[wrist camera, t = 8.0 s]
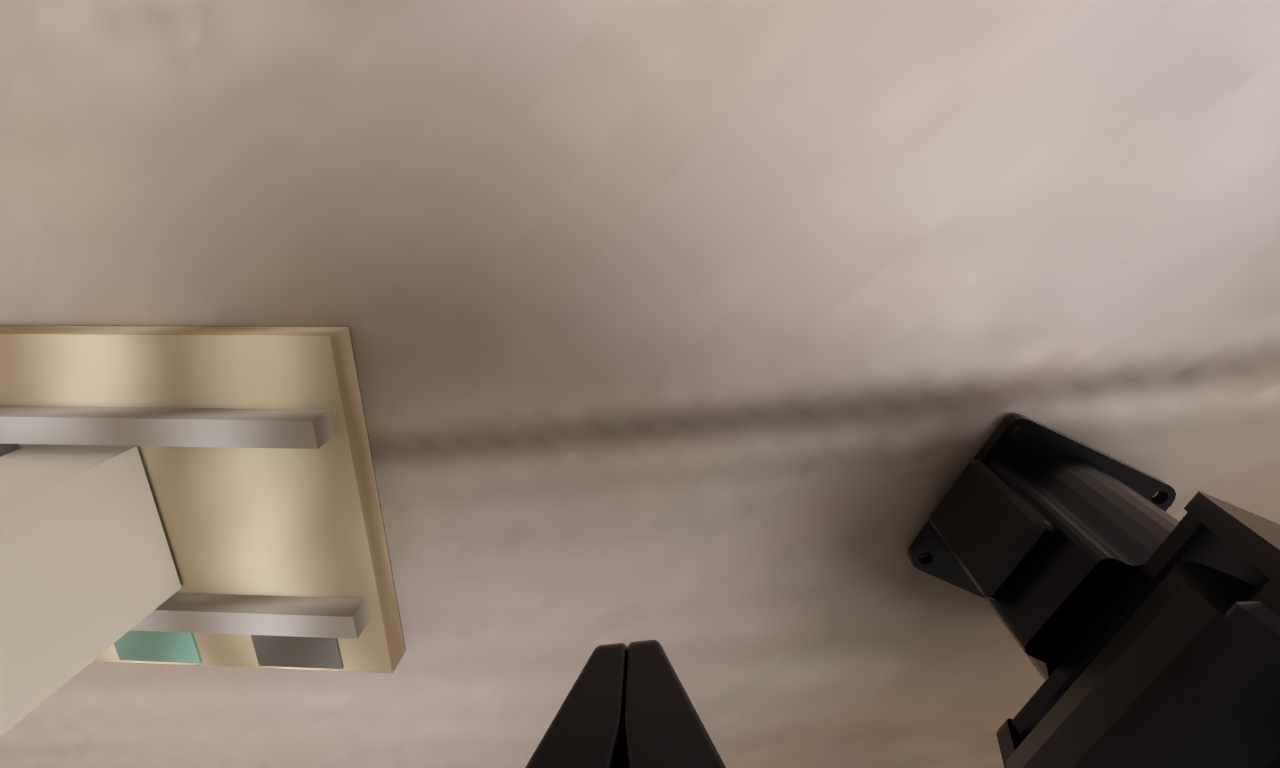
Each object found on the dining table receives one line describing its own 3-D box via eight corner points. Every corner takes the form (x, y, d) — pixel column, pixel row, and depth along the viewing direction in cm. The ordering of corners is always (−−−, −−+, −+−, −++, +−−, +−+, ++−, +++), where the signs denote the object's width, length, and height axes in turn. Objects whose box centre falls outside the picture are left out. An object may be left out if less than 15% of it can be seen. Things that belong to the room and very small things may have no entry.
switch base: (348, 326, 20) (291, 352, 17) (405, 650, 25) (368, 715, 22) (-2, 325, 21) (-115, 350, 18) (114, 639, 26) (40, 700, 23)
